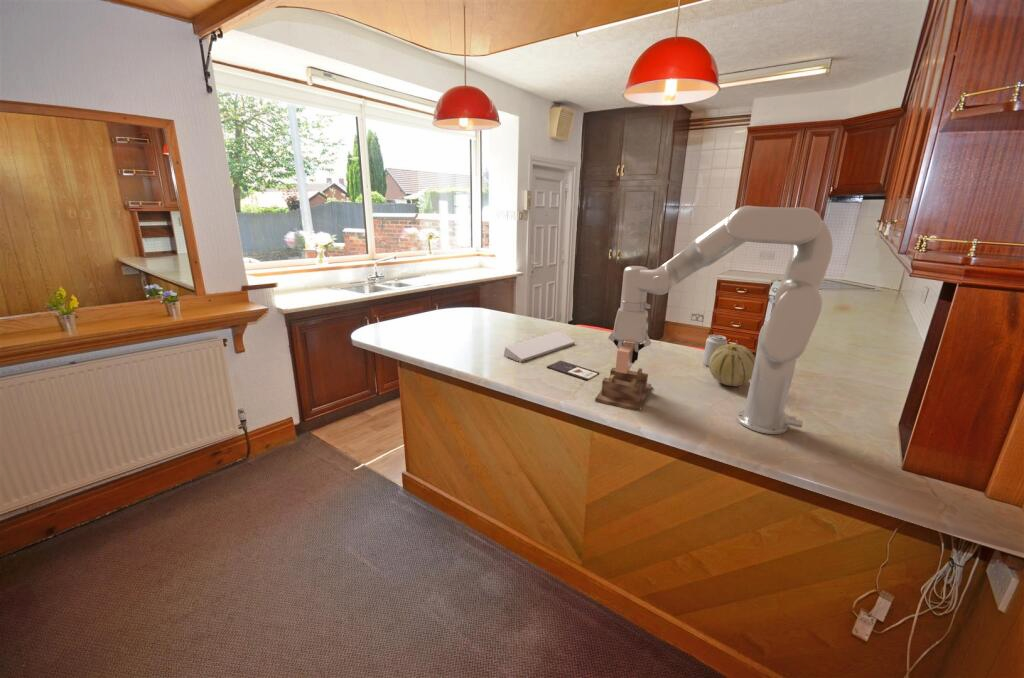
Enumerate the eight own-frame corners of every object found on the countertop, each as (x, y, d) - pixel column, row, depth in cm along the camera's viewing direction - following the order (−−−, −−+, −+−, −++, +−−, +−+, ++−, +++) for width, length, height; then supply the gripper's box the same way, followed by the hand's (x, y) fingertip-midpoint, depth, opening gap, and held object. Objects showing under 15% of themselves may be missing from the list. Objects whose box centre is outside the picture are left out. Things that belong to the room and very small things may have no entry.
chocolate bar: (560, 360, 167) (599, 372, 155) (560, 362, 167) (599, 374, 156) (546, 366, 161) (586, 379, 149) (546, 368, 161) (585, 381, 149)
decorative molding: (572, 350, 190) (556, 339, 195) (575, 341, 187) (559, 330, 193) (519, 369, 167) (503, 356, 173) (521, 359, 165) (505, 346, 171)
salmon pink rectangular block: (637, 357, 142) (639, 338, 140) (626, 373, 128) (628, 352, 126) (627, 355, 143) (629, 336, 141) (615, 371, 130) (617, 350, 128)
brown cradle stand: (651, 386, 144) (653, 366, 142) (639, 410, 128) (641, 388, 125) (611, 379, 151) (612, 359, 148) (595, 401, 134) (596, 379, 131)
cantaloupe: (747, 378, 152) (755, 339, 147) (756, 395, 139) (765, 353, 134) (703, 373, 156) (709, 335, 151) (708, 389, 143) (715, 348, 138)
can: (718, 370, 159) (723, 340, 156) (699, 364, 165) (703, 336, 161) (726, 365, 164) (731, 336, 160) (707, 360, 169) (712, 332, 166)
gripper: (662, 306, 129) (655, 361, 135) (609, 300, 136) (605, 353, 142) (658, 312, 123) (651, 369, 129) (603, 305, 130) (599, 360, 136)
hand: (627, 360), depth 135 cm, fingers closed on salmon pink rectangular block, 3 cm apart
